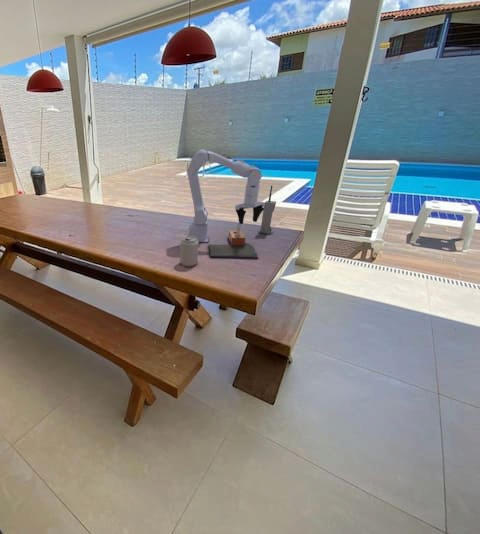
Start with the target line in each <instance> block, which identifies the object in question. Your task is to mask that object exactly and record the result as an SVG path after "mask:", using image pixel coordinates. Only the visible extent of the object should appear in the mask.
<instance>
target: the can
mask: <svg viewBox="0 0 480 534" xmlns="http://www.w3.org/2000/svg"><path fill="white" fill-rule="evenodd" d="M199 244H200V242H198V240H197V238H196V237H193V236H188V235H185V236H183V237H181V239H180V247H179V263H180V264H181V265H182V266H184V267H193V266H195V265H197V264H198V258H199Z"/></svg>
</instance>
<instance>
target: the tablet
mask: <svg viewBox="0 0 480 534" xmlns="http://www.w3.org/2000/svg"><path fill="white" fill-rule="evenodd" d="M208 250H209V255H210V258H211V259H246V260H247V259H248V260H249V259H250V260H251V259H252V260H258V258H259V257H258V254H257V253H256V251H255V249H254V247H253V244H245V245H231V244H212V243H211V244H210V243H209V244H208Z"/></svg>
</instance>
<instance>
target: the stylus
mask: <svg viewBox="0 0 480 534" xmlns="http://www.w3.org/2000/svg"><path fill="white" fill-rule="evenodd" d="M241 225H242V224H240V223H237V225H236V231H237V232H236V237H239V236H240V231H241Z"/></svg>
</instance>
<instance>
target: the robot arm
mask: <svg viewBox="0 0 480 534" xmlns="http://www.w3.org/2000/svg"><path fill="white" fill-rule="evenodd" d="M213 163H216V164H217V165H221V166H224V167H226V168H228V169H230V171H231V173H233V174H235V175H237V176H240V177H241V178H244V179H247V180H246V184H245V192H244V199H243V202H242V203H238V204H235V207H234V209H235V212H236V214H237V215H236V216H237V218H238V224H241V225H243V224H244V221H245V215H246V213H247V210H245V209H252V222H253V223H258V219H259V217H260V216H261V214H262V213H263V210H264V205H265V202H264V201H258V199H259V191H260V183H261V179H262V177H263V175H262V171H261V170H260V168H258V167H257V166H255V165H253V164H251V165H250V164H248V163H246V162H245V161H244V160H242V159H241V160H235V161H233V160H231V159H229V158H227V157H225V156H223V155H220V154H219V153H216V152H214V151H211V150H207V149H203V148H202V149H198V150H197V151H196V153H195V154H194V155H193V156H192V157H191V160H190V162H189V165H188V167H187V169H186V173H187V178H188V184H189V188H190V194H191V198H192V204H193V209H194V210H193V212H194V216H193V222H190V223H189V225H188V234H187V236H193V237H196V238H197V240H198V242H199V243H208V242H209V241H208V240H209V239H208V227H209V225H208V224H209V222H208V215H209V213H208V210H207V209H206V207H205V203H204V200H203V194H202V188H201V183H200V179H199V173H198V172H199V171H200V169H201V168H203V166H205V165H206V164H213Z"/></svg>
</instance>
